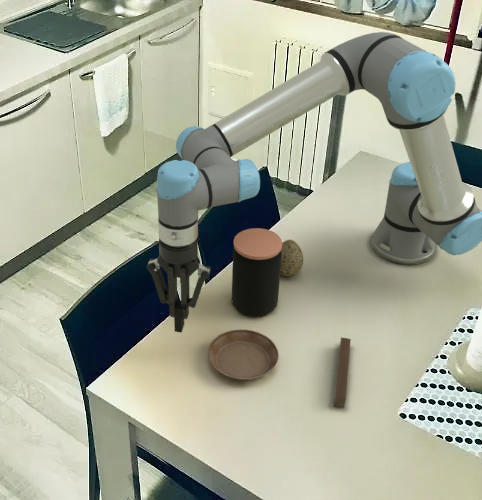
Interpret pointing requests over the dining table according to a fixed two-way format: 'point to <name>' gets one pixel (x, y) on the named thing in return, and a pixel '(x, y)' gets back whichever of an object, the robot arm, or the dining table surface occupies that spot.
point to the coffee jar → (256, 271)
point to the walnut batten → (342, 373)
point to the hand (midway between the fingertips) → (179, 327)
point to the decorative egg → (291, 258)
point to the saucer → (243, 354)
